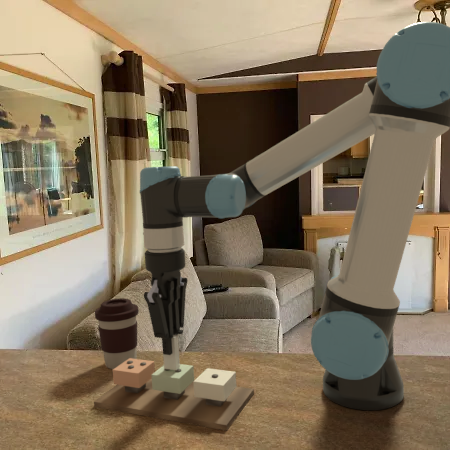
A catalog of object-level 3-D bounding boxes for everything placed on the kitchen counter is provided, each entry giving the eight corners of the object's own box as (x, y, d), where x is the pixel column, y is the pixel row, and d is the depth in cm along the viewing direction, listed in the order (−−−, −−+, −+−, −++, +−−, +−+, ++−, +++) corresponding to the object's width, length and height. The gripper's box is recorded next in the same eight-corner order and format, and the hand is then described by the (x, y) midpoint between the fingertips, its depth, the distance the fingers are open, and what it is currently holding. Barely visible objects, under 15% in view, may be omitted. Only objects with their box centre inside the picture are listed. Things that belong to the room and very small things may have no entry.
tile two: (194, 380, 96) (193, 364, 96) (180, 393, 91) (179, 377, 90) (168, 376, 98) (167, 361, 98) (152, 389, 93) (151, 373, 92)
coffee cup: (132, 373, 108) (127, 308, 106) (92, 372, 110) (86, 308, 108) (148, 356, 118) (143, 296, 116) (110, 354, 120) (105, 296, 118)
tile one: (236, 386, 92) (235, 370, 92) (224, 401, 87) (223, 384, 87) (208, 382, 95) (207, 367, 94) (194, 396, 89) (193, 380, 89)
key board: (253, 393, 96) (253, 383, 95) (226, 430, 83) (226, 418, 83) (134, 376, 107) (133, 366, 106) (94, 406, 94) (93, 395, 94)
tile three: (155, 375, 100) (154, 360, 99) (139, 388, 94) (138, 372, 94) (130, 371, 102) (129, 357, 101) (113, 384, 96) (112, 368, 96)
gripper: (164, 242, 98) (171, 353, 101) (127, 254, 87) (137, 379, 90) (197, 243, 96) (203, 357, 99) (164, 256, 84) (172, 385, 87)
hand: (171, 367), depth 94 cm, fingers closed
